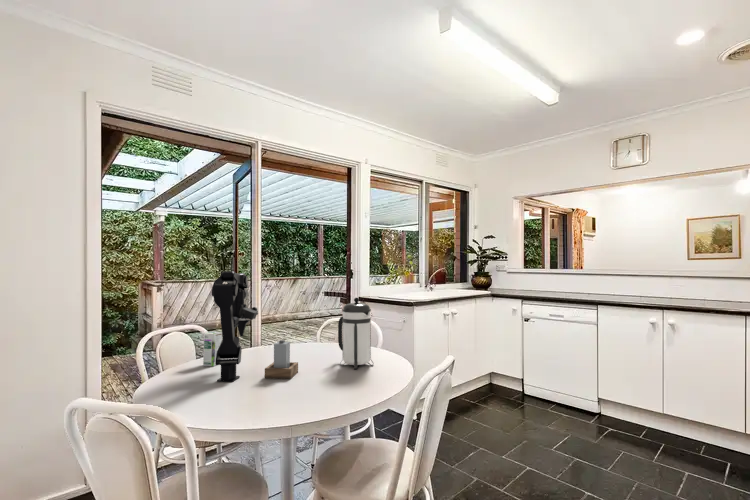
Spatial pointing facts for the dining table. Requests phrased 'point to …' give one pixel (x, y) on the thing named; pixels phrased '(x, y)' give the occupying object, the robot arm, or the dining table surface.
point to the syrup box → (211, 347)
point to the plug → (282, 354)
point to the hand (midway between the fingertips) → (237, 338)
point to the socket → (281, 371)
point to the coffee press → (355, 334)
